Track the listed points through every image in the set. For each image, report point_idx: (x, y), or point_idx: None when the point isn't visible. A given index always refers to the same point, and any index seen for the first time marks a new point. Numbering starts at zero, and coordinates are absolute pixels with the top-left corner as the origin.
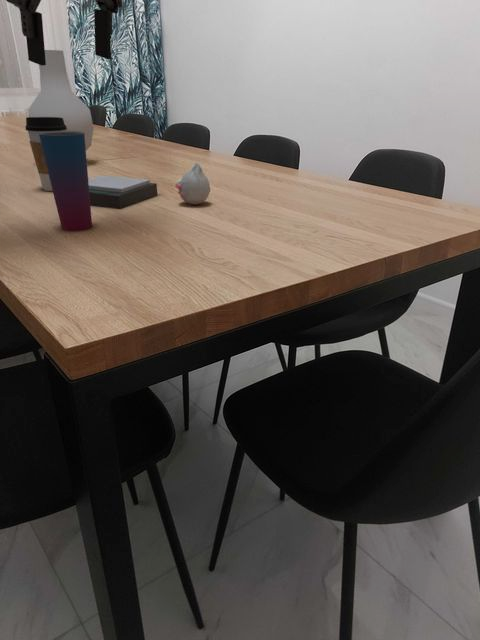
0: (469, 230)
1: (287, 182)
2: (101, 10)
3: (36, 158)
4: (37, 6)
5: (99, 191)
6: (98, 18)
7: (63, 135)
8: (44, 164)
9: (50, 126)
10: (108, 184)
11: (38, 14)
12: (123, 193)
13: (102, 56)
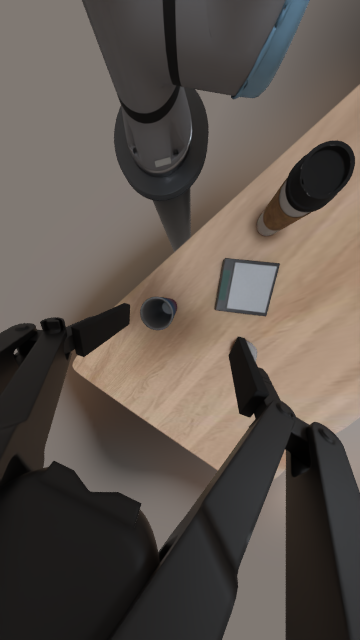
0: None
1: (331, 389)
2: (261, 402)
3: (272, 199)
4: (69, 359)
5: (224, 291)
6: (246, 384)
7: (144, 323)
8: (267, 212)
9: (296, 201)
10: (238, 291)
11: (78, 354)
12: (224, 309)
13: (232, 348)
